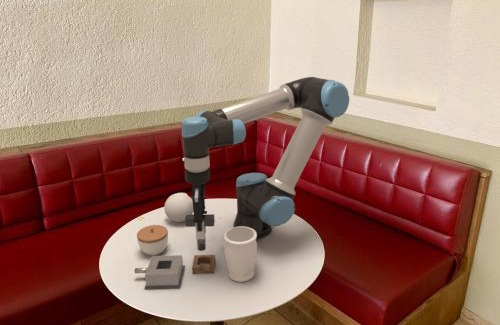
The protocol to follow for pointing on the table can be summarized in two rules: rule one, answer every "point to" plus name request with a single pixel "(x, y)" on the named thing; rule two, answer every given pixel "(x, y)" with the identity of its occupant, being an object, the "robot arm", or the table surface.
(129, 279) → the table surface
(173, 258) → the square block with stud
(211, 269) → the key stand
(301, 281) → the table surface
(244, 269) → the jar
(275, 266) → the table surface
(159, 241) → the lidded jar
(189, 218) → the bar
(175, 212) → the decorative ball
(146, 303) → the table surface
